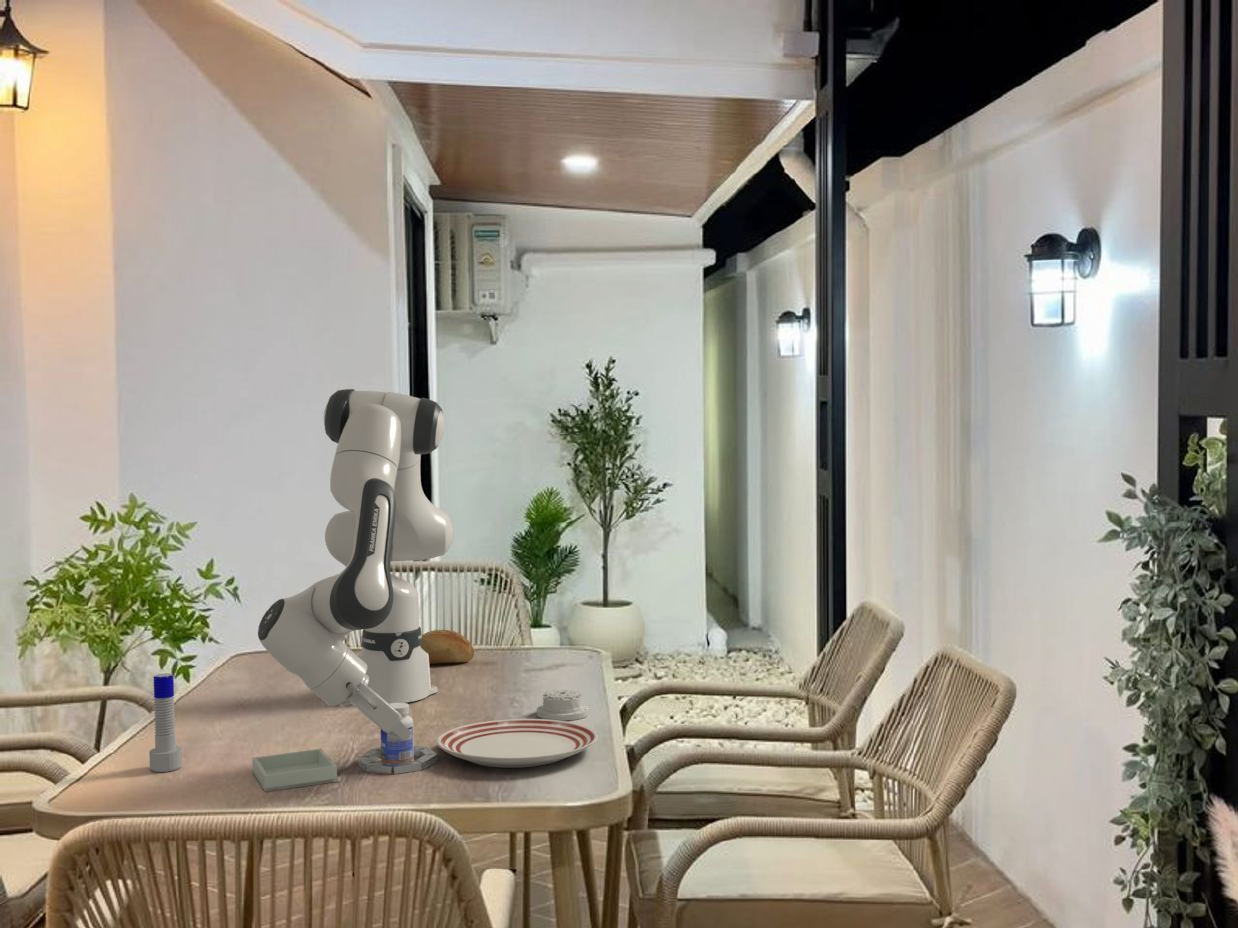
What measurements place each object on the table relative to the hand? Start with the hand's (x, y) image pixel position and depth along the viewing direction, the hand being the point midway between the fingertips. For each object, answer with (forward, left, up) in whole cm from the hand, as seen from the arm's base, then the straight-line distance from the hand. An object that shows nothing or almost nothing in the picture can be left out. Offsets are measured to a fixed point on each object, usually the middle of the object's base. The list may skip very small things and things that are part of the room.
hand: (400, 730), depth 202 cm
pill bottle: (0, -1, -6) cm, 6 cm away
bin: (0, -18, -5) cm, 18 cm away
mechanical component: (-16, +36, -6) cm, 40 cm away
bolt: (-15, -36, -6) cm, 39 cm away
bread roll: (-73, +30, -6) cm, 79 cm away
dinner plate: (+4, +19, -6) cm, 21 cm away
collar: (0, -1, -5) cm, 5 cm away
